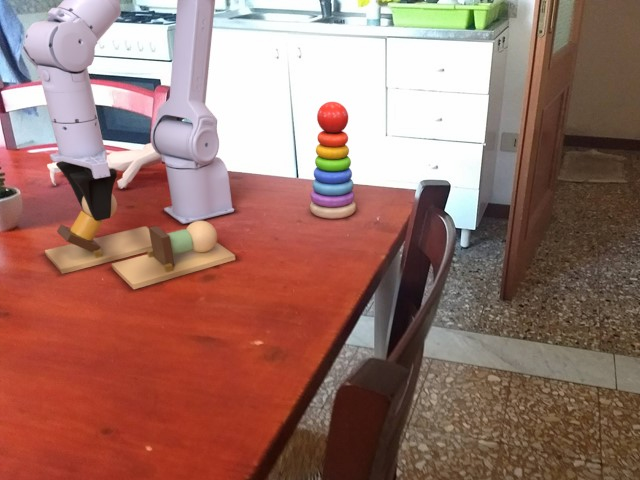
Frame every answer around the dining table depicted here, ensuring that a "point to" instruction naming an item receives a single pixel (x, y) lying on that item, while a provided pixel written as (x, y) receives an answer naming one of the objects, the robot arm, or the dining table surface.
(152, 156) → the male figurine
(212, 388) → the dining table surface
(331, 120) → the stacking toy
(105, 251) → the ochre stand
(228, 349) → the dining table surface
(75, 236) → the ochre toy
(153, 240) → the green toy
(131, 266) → the thin cream rectangular board
